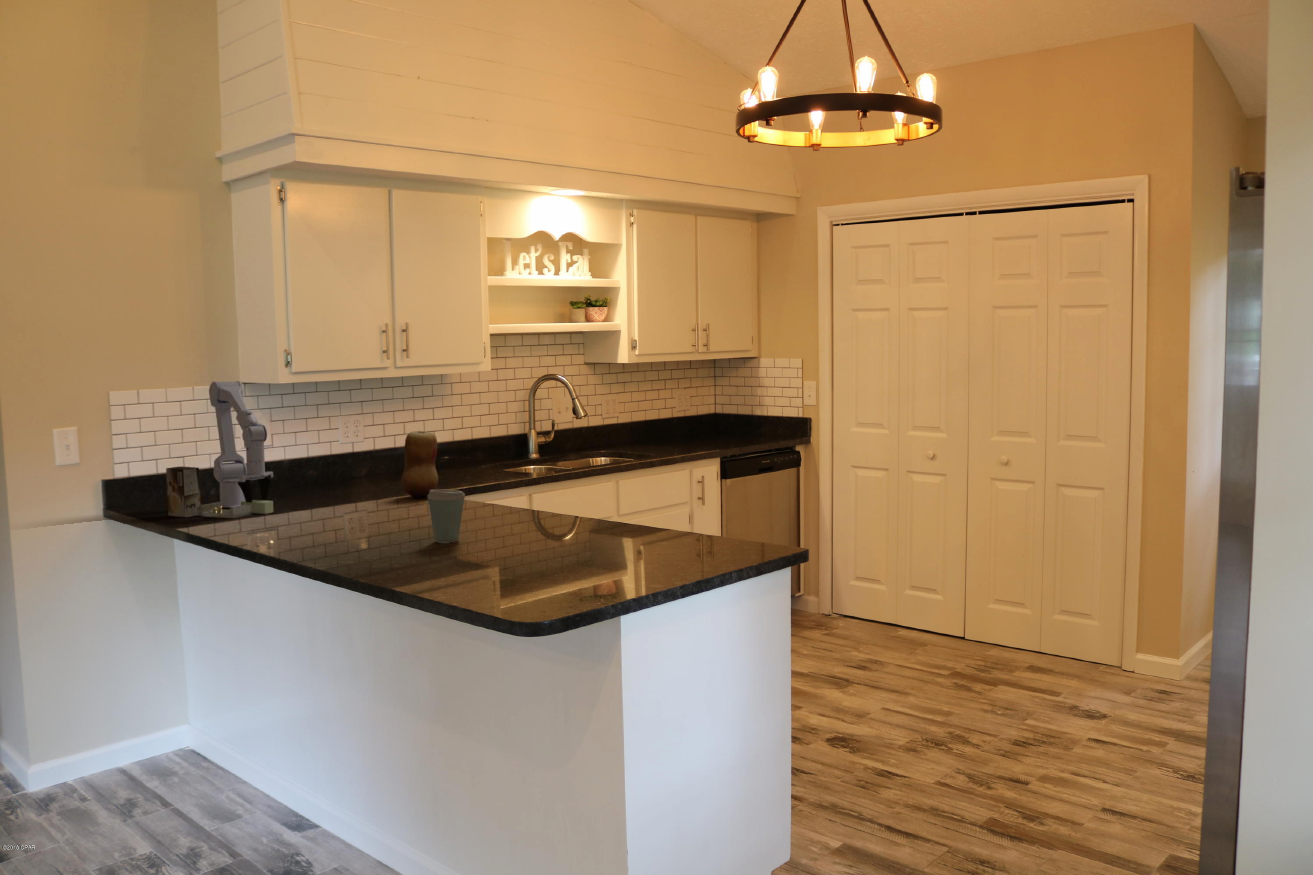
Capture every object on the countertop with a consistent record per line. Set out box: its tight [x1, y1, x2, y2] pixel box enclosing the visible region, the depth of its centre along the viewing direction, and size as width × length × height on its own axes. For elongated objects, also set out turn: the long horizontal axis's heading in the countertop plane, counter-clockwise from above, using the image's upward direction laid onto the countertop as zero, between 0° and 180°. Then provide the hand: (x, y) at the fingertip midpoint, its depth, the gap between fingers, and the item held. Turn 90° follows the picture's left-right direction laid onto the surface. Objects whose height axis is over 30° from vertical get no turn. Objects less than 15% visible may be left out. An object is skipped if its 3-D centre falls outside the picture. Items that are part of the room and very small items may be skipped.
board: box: [241, 499, 274, 515], centre depth 343 cm, size 10×4×4 cm, turn 71°
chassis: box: [198, 501, 254, 519], centre depth 336 cm, size 14×9×4 cm, turn 71°
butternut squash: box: [400, 430, 439, 499], centre depth 377 cm, size 14×13×25 cm
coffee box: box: [165, 466, 202, 518], centre depth 335 cm, size 9×6×16 cm
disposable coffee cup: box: [427, 489, 466, 544], centre depth 287 cm, size 11×11×15 cm
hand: (256, 500), depth 343 cm, fingers open, 7 cm apart
